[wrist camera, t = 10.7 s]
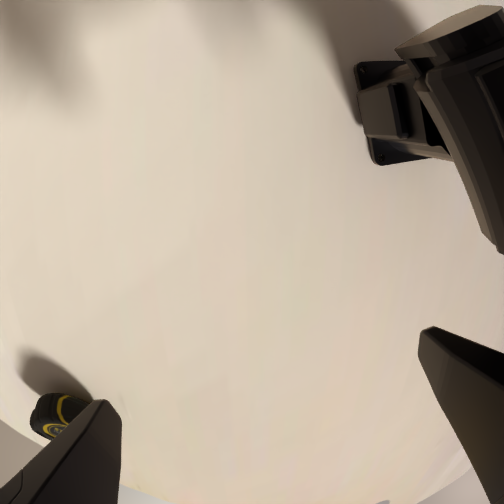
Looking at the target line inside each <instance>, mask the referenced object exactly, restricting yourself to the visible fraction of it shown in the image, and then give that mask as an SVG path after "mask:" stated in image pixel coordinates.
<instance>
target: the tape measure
mask: <svg viewBox="0 0 504 504" xmlns="http://www.w3.org/2000/svg"><path fill="white" fill-rule="evenodd" d="M88 405H89V404H88V403H86V402H84V401H82V400H80V399H78V398H75V397H72V396H68V395H65V394H60V393H50V394H45V395H43V396H41V397H40V398H39V400H38V401H37V404H36V407H35V409H34V410H33V412H32V414H31V417H30V426H31V428H32V430H33V431H34V432H36V433H37V434H39V435H41V436H43V437H45V438H47V439H49V440H51V441H52V440H53V439H54V438H55V437H56V436H57V435H58V434H59V433H60V432H61V431H62V430H63V429H64V428H65V427H66V426H67V425H68V424H70V423H71V422H72V421H73V420H74V419H75V418H76V417H77V416H78V415H79V414H80V413H81V412H82V411H83V410H84V409H85V408H86V407H87V406H88Z"/></svg>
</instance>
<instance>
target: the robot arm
mask: <svg viewBox="0 0 504 504" xmlns="http://www.w3.org/2000/svg"><path fill="white" fill-rule="evenodd" d="M394 50H395V51H396V52H397V54H398V55H399V57H400V58H401V59H404V61H368V62H359V63H357V64H356V65H355V66H354V73H355V77H356V81H357V85H358V90H359V92H358V94H357V99H358V103H359V108H360V113H361V118H362V123H363V128H364V133H365V135H366V136H368V139H369V144H370V150H371V156H372V160H373V162H374V163H375V164H376V165H380V166H384V165H390V164H396V163H402V162H408V161H414V160H421V159H427V158H437V159H442V160H447V161H452V162H454V163H455V165H456V168H457V170H458V172H459V174H460V177H461V179H462V181H463V184H464V186H465V189H466V191H467V194H468V196H469V199H470V201H471V204H472V207H473V209H474V212H475V215H476V218H477V220H478V223H479V226H480V229H481V231H482V233H483V234H484V235H485V236H486V237H487V238H488V239H489V240H490V241H491V242H492V243H493V244H494V245H496V248H497V251H498V252H499V253H501V254H503V255H504V9H503V7H502V6H490V5H478V6H475V7H473V8H470V9H468V10H465V11H463V12H460V13H458V14H455V15H453V16H451V17H449V18H447V19H445V20H443V21H441V22H439V23H438V24H436V25H434V26H432V27H431V28H429V29H427V30H426V31H424V32H422V33H420V34H419V35H417V36H415V37H414V38H412V39H410V40H409V41H407V42H405V43H404V44H402V45H401V46H399V47H397V48H396V49H394ZM360 67H363V68H364V69H365V73H362V72H361V70H360ZM379 154H381V155H382V160H381V161H379V159H378V156H379ZM418 358H419V361H420V363H421V365H422V367H423V369H424V371H425V374H426V376H427V378H428V380H429V383H430V385H431V387H432V389H433V392H434V394H435V396H436V398H437V401H438V403H439V404H440V406H441V408H442V410H443V412H444V413H445V415H446V417H447V419H448V420H449V422H450V424H451V426H452V428H453V429H454V431H455V433H456V435H457V437H458V439H459V440H460V442H461V444H462V446H463V448H464V450H465V452H466V454H467V456H468V458H469V460H470V462H471V464H472V466H473V468H474V470H475V472H476V473H477V476H478V478H479V480H480V482H481V484H482V486H483V488H484V490H485V492H486V495H487V497H488V499H489V501H490V503H491V504H504V353H501V352H499V351H496V350H494V349H491V348H489V347H486V346H484V345H481V344H479V343H476V342H473V341H471V340H468V339H466V338H463V337H461V336H458V335H456V334H453V333H451V332H448V331H446V330H443V329H441V328H438V327H435V326H432V327H429V328H427V329H424V330H422V331H421V333H420V338H419V347H418ZM121 437H122V421H121V418H120V416H119V414H118V413H117V412H116V410H115V409H114V408H113V406H112V405H111V404H110V402H109V401H107V400H105V399H100V400H94V401H93V402H92V403H90V404H89V405H88V406H87V407H86V408H85V409H84V410H83V411H82V412H81V413H80V414H79V415H78V416H77V417H76V418H75V419H74V420H73V421H72V422H71V423H70V424H68V425H67V426H66V427H65V428H64V429H63V430H62V431H61V432H60V433H59V434H58V435H57V436H56V437H55V438H54V439H53V440H52V441H51V442H50V443H49V444H48V445H47V446H45V447H44V448H43V449H42V450H41V451H40V452H39V453H38V454H37V455H36V456H35V457H34V458H33V459H32V460H31V461H30V462H29V463H28V464H27V465H26V466H25V467H24V468H23V469H21V470H20V471H19V472H18V473H17V474H16V475H15V476H14V477H13V478H12V479H11V480H10V481H9V482H8V483H6V484H5V485H4V486H3V487H2V488H0V504H117V503H118V491H119V481H120V471H121Z"/></svg>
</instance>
